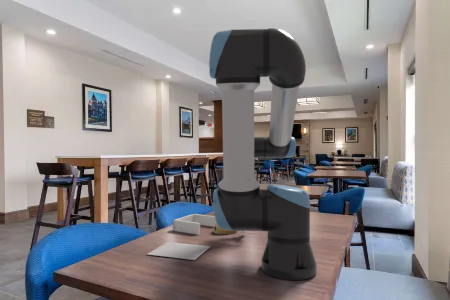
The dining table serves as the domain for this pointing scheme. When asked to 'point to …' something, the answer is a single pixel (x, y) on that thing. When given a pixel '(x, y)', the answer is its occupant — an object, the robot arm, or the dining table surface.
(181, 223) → the box
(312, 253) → the robot arm
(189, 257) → the paper stack
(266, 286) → the dining table surface
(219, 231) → the pastry
